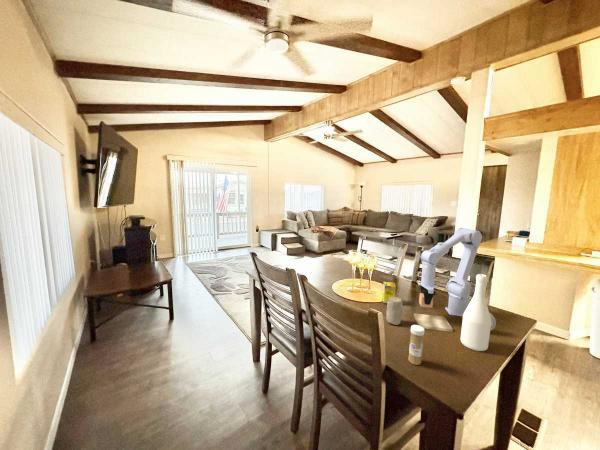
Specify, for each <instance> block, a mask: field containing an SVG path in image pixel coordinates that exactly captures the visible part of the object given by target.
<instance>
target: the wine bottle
mask: <svg viewBox="0 0 600 450" xmlns="http://www.w3.org/2000/svg"><path fill="white" fill-rule="evenodd" d="M475 280H476V281H475V288H474V289H475V290H474V293H473V296H472V298H471V299H470V303H469V305H468V307H467V308H466V310H465V312H464V314H463V316H462V321H461V322H462V323H461V330H460V339H459V340H460V342H461V344H462V345H463V346H464V347H466V348H468V349H470V350H473V351H476V352H484V351H487V350H488V348H489V343H490V335H491V331H490V328H491V318H490V314H489V313H490V310H489V308H488V304H487V299H486V287H487V282H488V277H487V275H486V274H482V273H477V274H476V275H475Z"/></svg>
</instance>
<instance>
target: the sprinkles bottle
mask: <svg viewBox="0 0 600 450" xmlns="http://www.w3.org/2000/svg"><path fill="white" fill-rule="evenodd" d="M424 335H425V328H423V327H421V326H419V325H418V324H412V325H411V326H410V340H409V346H408V348H409V349H408V351H409V352H408V358H407V359H408V361H409V363H411V364H412V365H414V366H415V365H416V366H419V365H421V364H422V356H423V347H424V337H425V336H424Z"/></svg>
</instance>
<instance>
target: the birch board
mask: <svg viewBox="0 0 600 450" xmlns="http://www.w3.org/2000/svg"><path fill="white" fill-rule="evenodd" d="M413 316H414V319H415V321H416V323H417V324H416V325H419V326H421V327H423V328H424V330H425V329H426V330H433V331H444V332H452V333H453V332H454V329H453V327H452V326H451V324H450V323H449V322H448V320H447V319H446V317H445V316H442V315H432V314H422V313H413Z"/></svg>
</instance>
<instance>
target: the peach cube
mask: <svg viewBox="0 0 600 450" xmlns="http://www.w3.org/2000/svg"><path fill="white" fill-rule="evenodd" d="M418 297H419V298H418V303H419V306H420V307H421V308H431V309H433V305H434V297H433V298H432V300H431V303H430V305H426V304H425V302H424V294H423V293H421V292H420V293H419V296H418Z"/></svg>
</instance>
